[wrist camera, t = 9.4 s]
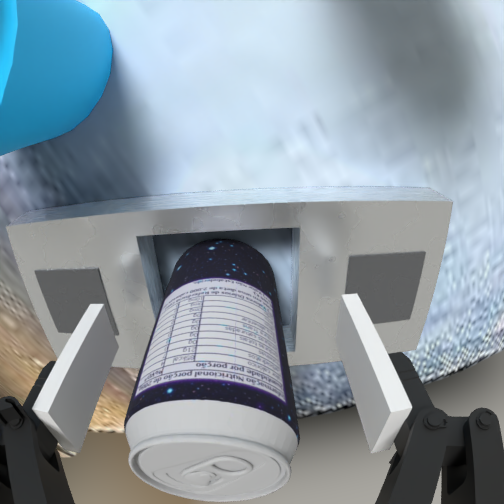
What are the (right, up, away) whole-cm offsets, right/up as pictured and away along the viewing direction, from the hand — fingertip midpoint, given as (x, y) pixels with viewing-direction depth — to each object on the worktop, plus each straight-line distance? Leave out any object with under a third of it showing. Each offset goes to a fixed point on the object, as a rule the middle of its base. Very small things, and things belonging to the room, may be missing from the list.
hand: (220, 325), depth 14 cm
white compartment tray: (0, +2, +4) cm, 4 cm away
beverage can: (0, +2, +4) cm, 5 cm away
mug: (-10, +15, -2) cm, 18 cm away
